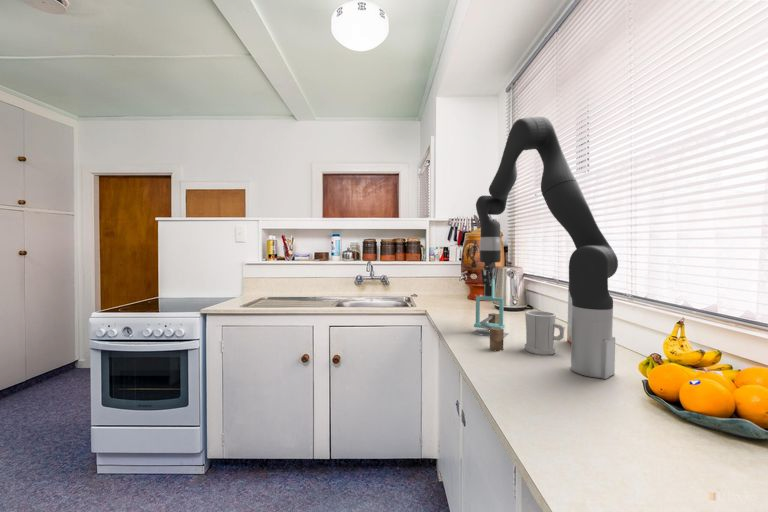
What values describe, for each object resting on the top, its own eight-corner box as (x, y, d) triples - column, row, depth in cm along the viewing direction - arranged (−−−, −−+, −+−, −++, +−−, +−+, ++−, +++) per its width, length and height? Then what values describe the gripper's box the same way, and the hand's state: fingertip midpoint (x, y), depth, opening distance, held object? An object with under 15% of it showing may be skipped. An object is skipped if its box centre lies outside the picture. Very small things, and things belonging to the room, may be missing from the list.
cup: (554, 347, 115) (555, 311, 114) (566, 356, 106) (566, 316, 105) (521, 346, 116) (521, 310, 115) (529, 355, 107) (530, 315, 106)
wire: (495, 316, 137) (495, 314, 137) (498, 332, 112) (498, 330, 112) (480, 315, 139) (480, 313, 139) (480, 331, 113) (480, 328, 113)
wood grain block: (499, 330, 139) (499, 313, 138) (503, 352, 110) (504, 331, 109) (488, 329, 140) (488, 312, 139) (489, 350, 111) (489, 330, 111)
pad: (503, 338, 126) (503, 337, 126) (471, 333, 133) (471, 332, 133) (508, 334, 132) (508, 333, 132) (477, 329, 139) (477, 329, 139)
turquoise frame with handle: (501, 330, 127) (501, 279, 127) (473, 327, 133) (474, 278, 132) (504, 327, 131) (505, 278, 131) (478, 324, 137) (478, 277, 136)
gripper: (495, 249, 123) (494, 298, 124) (505, 249, 135) (504, 294, 136) (474, 249, 127) (473, 296, 128) (485, 249, 139) (485, 292, 140)
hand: (489, 295), depth 132 cm, fingers closed on turquoise frame with handle, 3 cm apart
